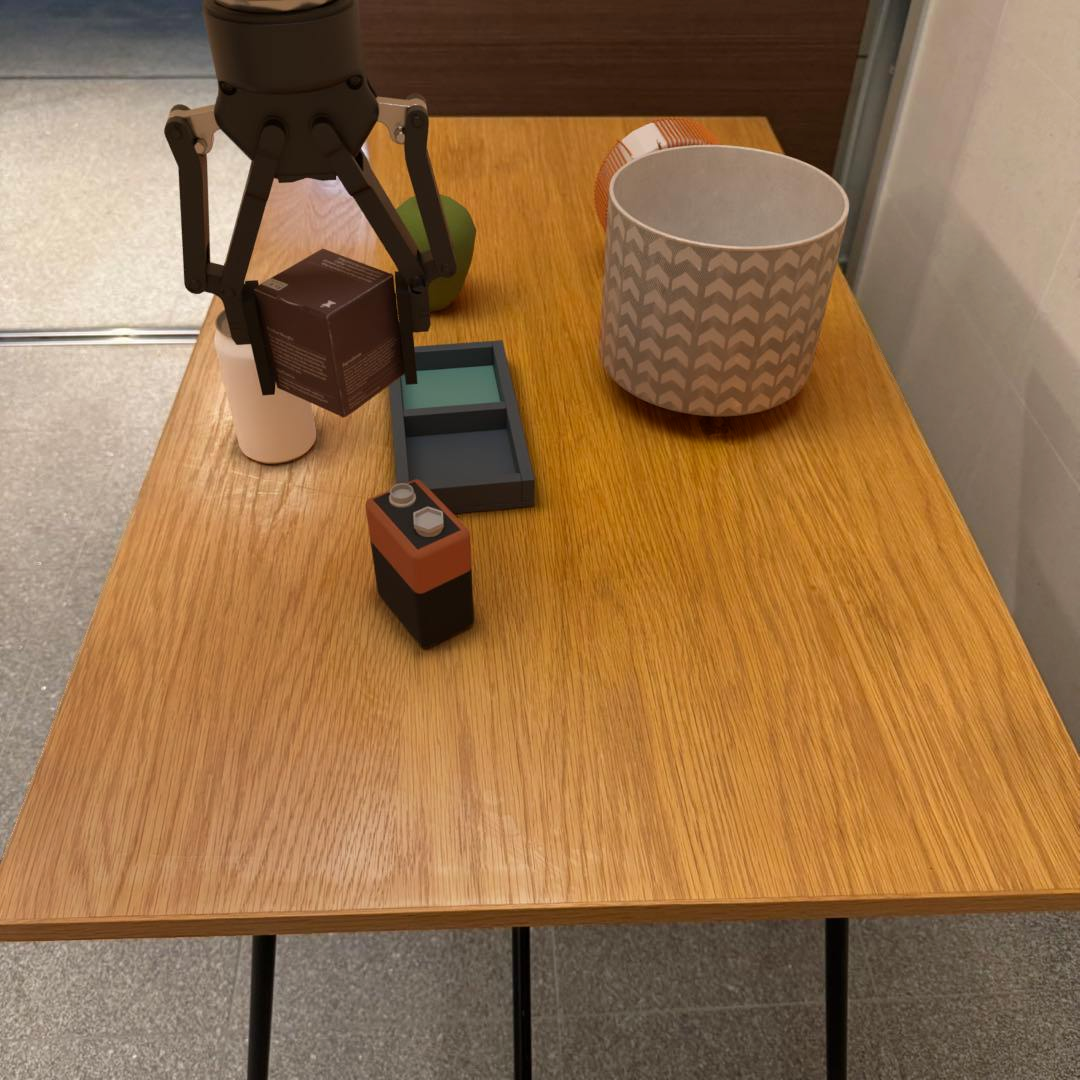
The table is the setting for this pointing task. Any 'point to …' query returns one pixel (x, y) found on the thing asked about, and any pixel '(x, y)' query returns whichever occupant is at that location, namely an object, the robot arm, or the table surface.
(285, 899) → the table surface
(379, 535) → the battery
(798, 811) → the table surface
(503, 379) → the holder
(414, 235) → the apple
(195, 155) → the robot arm
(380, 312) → the box
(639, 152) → the coil
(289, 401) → the can
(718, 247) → the planter
